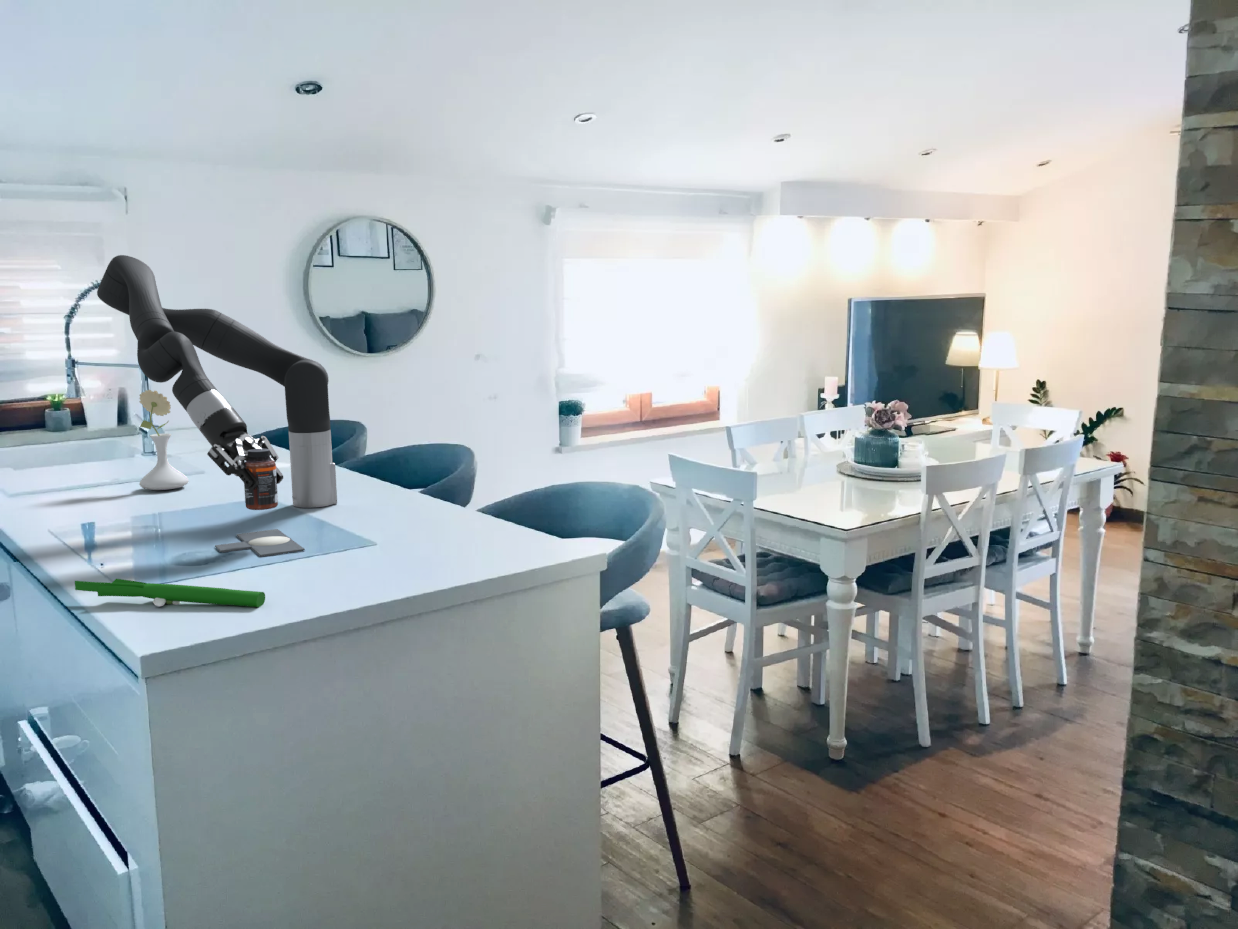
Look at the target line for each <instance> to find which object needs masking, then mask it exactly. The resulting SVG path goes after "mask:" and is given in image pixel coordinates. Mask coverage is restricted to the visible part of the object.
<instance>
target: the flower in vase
mask: <svg viewBox="0 0 1238 929" xmlns="http://www.w3.org/2000/svg"><path fill="white" fill-rule="evenodd" d="M138 399H139V403H140V404H141V405H142V407H143V408H144V409H145V410H146V412H149V413H150V414H149V421H148V420H144V419H143V420H142V422H141V424H140V426H139V427H140V428H143V429H148V430H151V429H152V428H153V429H154V431H155V432H156V433H152V434H149V438H151V440H152V441H153V443H154V445H155V449H156V456H157V457H156V458H157V461H156V465H155V466H154V467H153V468H151V470H150V471H148V472H147V473H146V474H145V475H144V476H143V477H142V478H141V480H140V481H139V484H138V485H139V486H140V487H141V488H143V489H145V490H149V491H165V490H166V491H167V490H172V489H178V488H182V487H184V486H187V485H188V484H189V482H190V480H189V477H188V476H186V475H185V474H184V473H183V472H182V471H179V470H178V469H176V468H175V467H173V466H172V464H170V463H169V460H168V454H167V453H168V452H167V450H168V442H169V439H170V438H171V437H172V433H159V431H158V430H159V429H161V428H163V427H164V426H165V425H167V424H168V423H169V422H170V420H167V422H166V423H164V424H161V425H159V426H158V427H157V428H156V427H155V425H154V424H153V422H152V417H153V415H154V414H155V415H156V416H160V417H164V415H165V416H167V415H168V414H171V406H172V405H171V402H170V401H169V400H168V397H167V396H164V395H163V393H159V392H158V391H157V390H151V389H148V390H146V389H145V390H144V391H143V392H142V391H141V393H140V394H139V398H138Z"/></svg>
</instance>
